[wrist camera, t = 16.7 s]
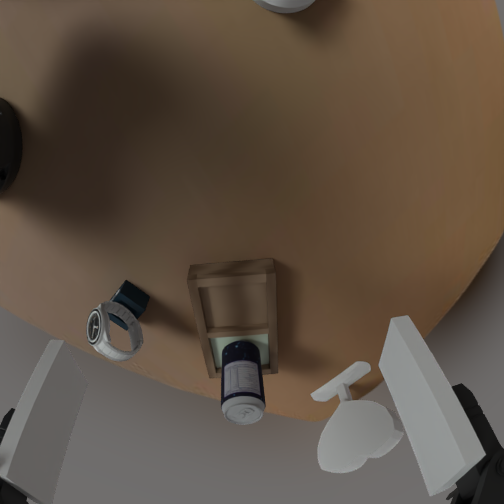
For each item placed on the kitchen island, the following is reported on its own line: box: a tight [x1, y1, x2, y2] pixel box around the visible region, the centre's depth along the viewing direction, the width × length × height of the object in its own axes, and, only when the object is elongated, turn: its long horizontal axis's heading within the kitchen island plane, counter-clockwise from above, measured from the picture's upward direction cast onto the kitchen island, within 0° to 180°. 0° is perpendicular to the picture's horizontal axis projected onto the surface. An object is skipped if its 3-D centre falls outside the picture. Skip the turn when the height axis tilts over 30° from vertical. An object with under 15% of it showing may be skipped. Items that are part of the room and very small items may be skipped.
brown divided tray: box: [187, 258, 278, 378], centre depth 46 cm, size 11×19×4 cm, turn 4°
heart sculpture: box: [311, 361, 404, 473], centre depth 49 cm, size 16×5×18 cm, turn 139°
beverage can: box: [221, 340, 266, 424], centre depth 42 cm, size 6×6×12 cm
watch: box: [86, 280, 150, 361], centre depth 40 cm, size 6×8×11 cm
